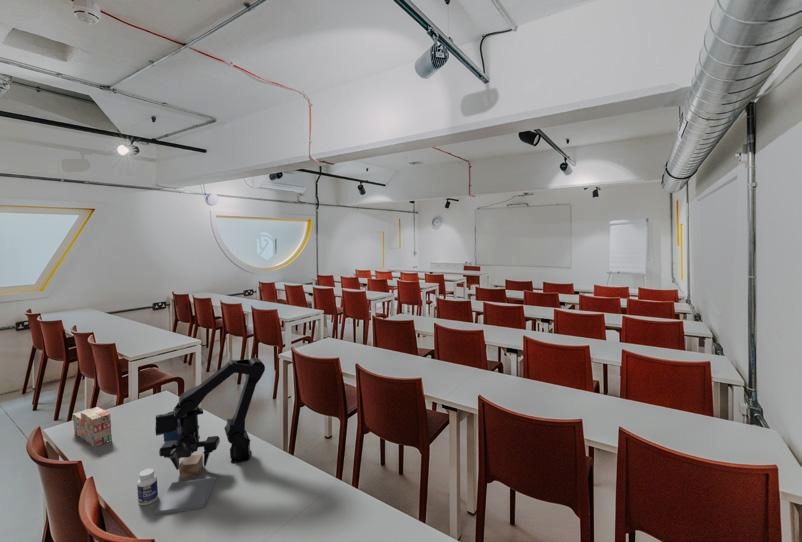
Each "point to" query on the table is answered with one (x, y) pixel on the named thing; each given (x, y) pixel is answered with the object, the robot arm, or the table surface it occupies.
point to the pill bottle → (147, 487)
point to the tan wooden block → (191, 466)
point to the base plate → (185, 496)
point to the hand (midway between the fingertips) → (191, 467)
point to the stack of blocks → (93, 425)
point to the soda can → (173, 433)
